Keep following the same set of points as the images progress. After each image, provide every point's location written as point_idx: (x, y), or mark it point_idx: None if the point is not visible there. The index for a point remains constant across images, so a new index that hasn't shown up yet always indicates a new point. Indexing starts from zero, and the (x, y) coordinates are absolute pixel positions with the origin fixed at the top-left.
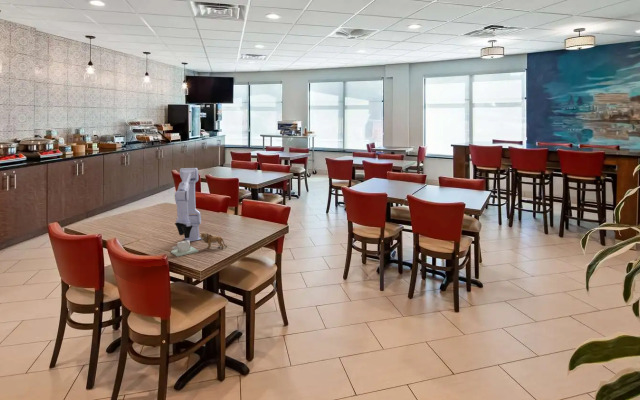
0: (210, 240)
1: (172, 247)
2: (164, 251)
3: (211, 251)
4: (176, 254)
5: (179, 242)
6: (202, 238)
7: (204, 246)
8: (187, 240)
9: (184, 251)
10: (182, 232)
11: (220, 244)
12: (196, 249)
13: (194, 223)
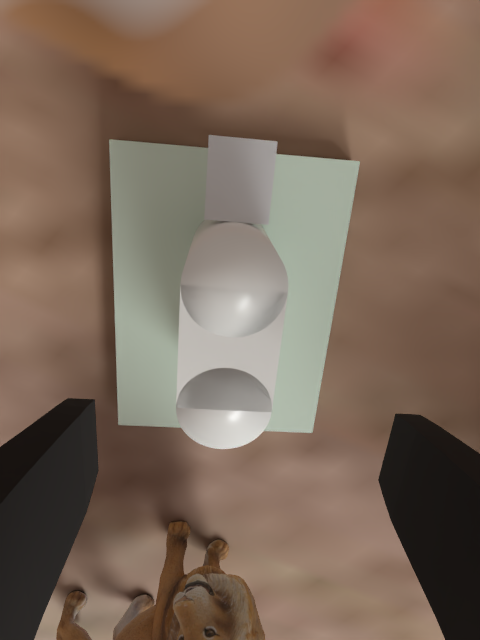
0: (150, 625)
1: (264, 140)
2: (467, 112)
3: None
4: (134, 141)
5: (244, 288)
6: (175, 601)
7: (259, 522)
8: (256, 433)
9: None
10: (406, 506)
11: (67, 631)
12: (161, 421)
13: None
